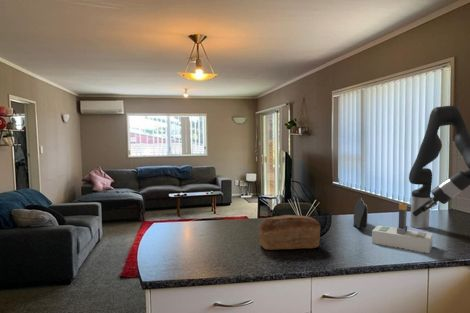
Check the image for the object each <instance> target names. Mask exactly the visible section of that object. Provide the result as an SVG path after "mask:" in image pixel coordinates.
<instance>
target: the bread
mask: <svg viewBox="0 0 470 313" xmlns="http://www.w3.org/2000/svg"><path fill="white" fill-rule="evenodd" d="M320 237H321V224H320V223H319V222H318V220H316V219H315V218H313V217H311V216H306V215H300V214H299V215H297V214H283V215H276V216H271V217H266V218H264V219H263V220H262V221H261V222H260V224H259V225H258V239H259V244H260V246H261V247H262V248H263V249H264V250H269V251H275V250H297V249H315V248H318V247H319V246H320Z"/></svg>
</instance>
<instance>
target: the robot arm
mask: <svg viewBox="0 0 470 313" xmlns="http://www.w3.org/2000/svg"><path fill="white" fill-rule="evenodd" d="M426 126H427V127H426V131H425V134H424V137H423V139H422V141H421V144H420V146H419V151H418V154H417V155H416V159H415V161H414V163H413V164H412V167H411V169H410V171H409V174H408V180H409V183H410V184H413V185H421V187H419V188H417V189H414V190H412V191H411V203H410V204H411V205H410V223H409V224H410V226H411V227H412V228H414V229H415V228H416V229H420V230H421V229H424V230H425V229H429V228H430V210H431V208H434V207H435V206H437V205H438V202H440V203H441V204H442V205H446V203H448V202H450V201H451V200H453V199H454V198H455V197H456V196H458V195H459V194H460V193H461V192H463V191H465V189H467V188H468V187H469V186H470V132H469V129H468V128H467V125H466V122H465V120H464V119H463V116H462V114H461V112H460V110H459V109H458V108H457V106H455V105H445V106H442V105H441V106H436V107H433V108H432V110H431V112H430V115H429V118H428V122H427V125H426ZM444 126H452V127H453V128H454V129H455V135H454V145H455V147H456V149H457V150H458V152H459V154H460V155H461V156H462V157H463V158H462V159H463V161H464V164H466V167H467V168H468V169H467V170H466V171H461V170H459V171H457V172H456V173H454V174H453V175H452V176H450V177H449V178H447V179H446V180H444V181H442V182H441V183H440V184H438V185H437V186H435V187H434V188H433V189H432V185H433V184H432V183H433V171H432V170H431V169H430V168H428V167H426V166H428V165H430V163H432V162H433V161H434V160H436V159H437V158H438V157H439V154H440V152H441V151H442V148H443V144H442V140H441V138H440V136H439V134H438V133H439V132H438V131H439V129H440V128H441V127H444ZM425 167H426V168H425ZM431 194H432V196H433V197H432V196H431Z"/></svg>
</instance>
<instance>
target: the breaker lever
mask: <svg viewBox="0 0 470 313" xmlns="http://www.w3.org/2000/svg"><path fill="white" fill-rule="evenodd" d="M407 210H408V203H407V202H400V203H398V227H397V228H402V229H406V226H407V214H408V212H407Z"/></svg>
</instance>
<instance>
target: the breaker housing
mask: <svg viewBox="0 0 470 313" xmlns="http://www.w3.org/2000/svg"><path fill="white" fill-rule="evenodd" d="M371 232H372V233H371V243H372V244H375V245H376V244H377V245H383V246H386V245H387V247H392V246H393V247H392V248H397V247H399V248H398V249H402V248H404V249H403V250H408V249H409V250H410V251H413V250H414V252H419V253H424V252H425V254H430V252H431V250H432V248H433V242H434V241H433V238H434V235H433V234H434V233H432V232H425V231H424V232H423V231H419V230H413V229H408V225H406V229H402V228H398V227H391V226H385V225H377V226H376V227H375V228H373V229H372V230H371Z"/></svg>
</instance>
